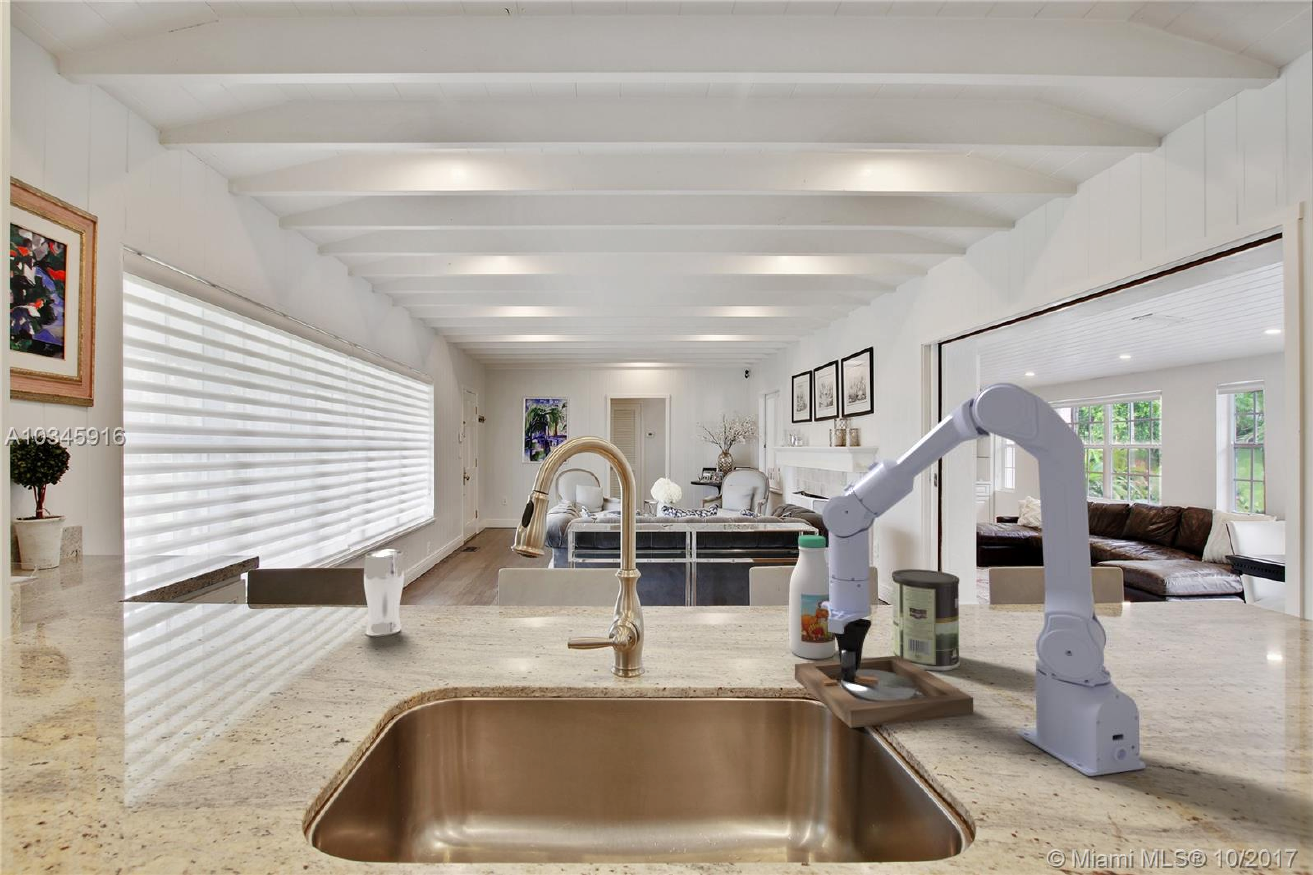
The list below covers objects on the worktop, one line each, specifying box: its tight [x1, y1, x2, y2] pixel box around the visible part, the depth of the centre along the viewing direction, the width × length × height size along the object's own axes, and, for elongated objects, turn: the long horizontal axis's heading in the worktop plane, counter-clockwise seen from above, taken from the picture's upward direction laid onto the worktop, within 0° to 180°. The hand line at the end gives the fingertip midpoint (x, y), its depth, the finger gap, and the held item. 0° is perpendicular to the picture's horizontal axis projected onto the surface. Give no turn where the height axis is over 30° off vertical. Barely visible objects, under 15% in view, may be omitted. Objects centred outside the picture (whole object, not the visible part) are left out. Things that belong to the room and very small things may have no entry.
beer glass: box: [363, 549, 405, 637], centre depth 112 cm, size 7×7×15 cm
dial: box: [840, 648, 917, 703], centre depth 84 cm, size 10×10×6 cm
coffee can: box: [891, 568, 961, 672], centre depth 98 cm, size 10×10×14 cm
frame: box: [794, 655, 974, 729], centre depth 84 cm, size 16×18×3 cm
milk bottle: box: [788, 534, 836, 660], centre depth 101 cm, size 8×8×20 cm
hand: (850, 669), depth 86 cm, fingers closed, pressing on dial
